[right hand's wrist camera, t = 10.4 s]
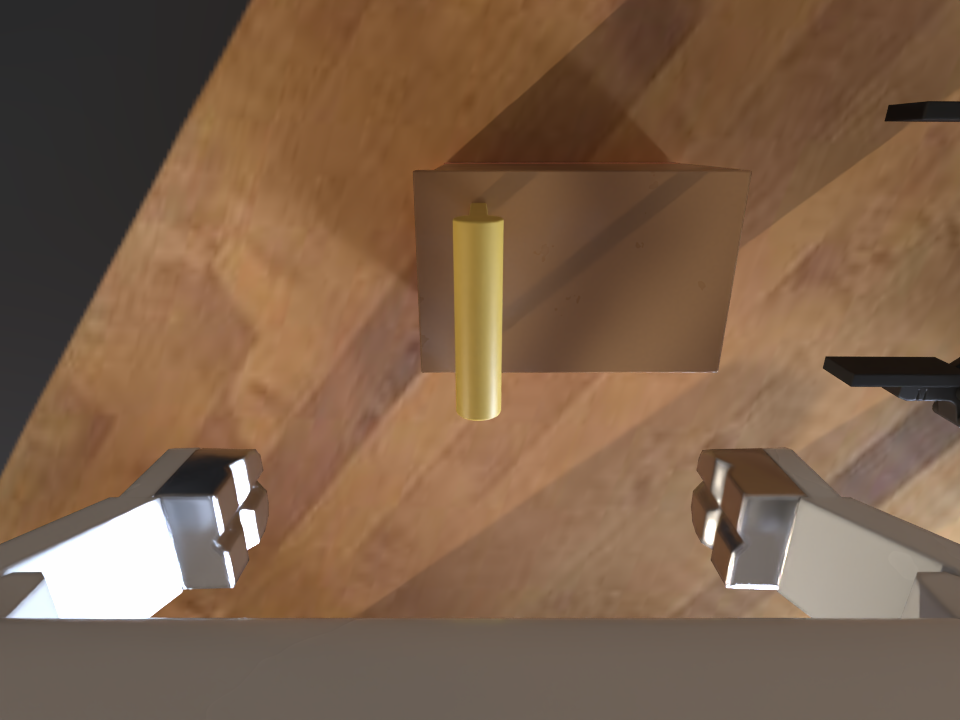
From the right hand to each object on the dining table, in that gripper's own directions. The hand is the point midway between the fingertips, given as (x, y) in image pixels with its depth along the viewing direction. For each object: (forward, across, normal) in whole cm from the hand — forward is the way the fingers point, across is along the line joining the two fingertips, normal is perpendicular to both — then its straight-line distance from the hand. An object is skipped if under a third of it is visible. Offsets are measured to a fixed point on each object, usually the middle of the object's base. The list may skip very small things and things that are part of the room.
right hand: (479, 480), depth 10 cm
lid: (+17, -4, 0) cm, 18 cm away
